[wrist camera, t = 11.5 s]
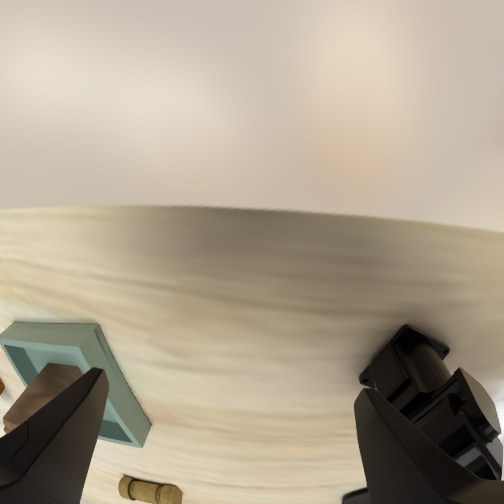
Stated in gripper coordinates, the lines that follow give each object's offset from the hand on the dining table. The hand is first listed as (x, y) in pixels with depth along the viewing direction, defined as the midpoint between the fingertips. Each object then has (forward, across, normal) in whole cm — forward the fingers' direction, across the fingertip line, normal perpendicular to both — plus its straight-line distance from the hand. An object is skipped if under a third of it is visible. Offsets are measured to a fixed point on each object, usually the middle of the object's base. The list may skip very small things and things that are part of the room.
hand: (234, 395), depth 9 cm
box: (+12, +16, +17) cm, 27 cm away
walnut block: (+11, +16, +17) cm, 26 cm away
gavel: (+10, +8, +51) cm, 53 cm away
